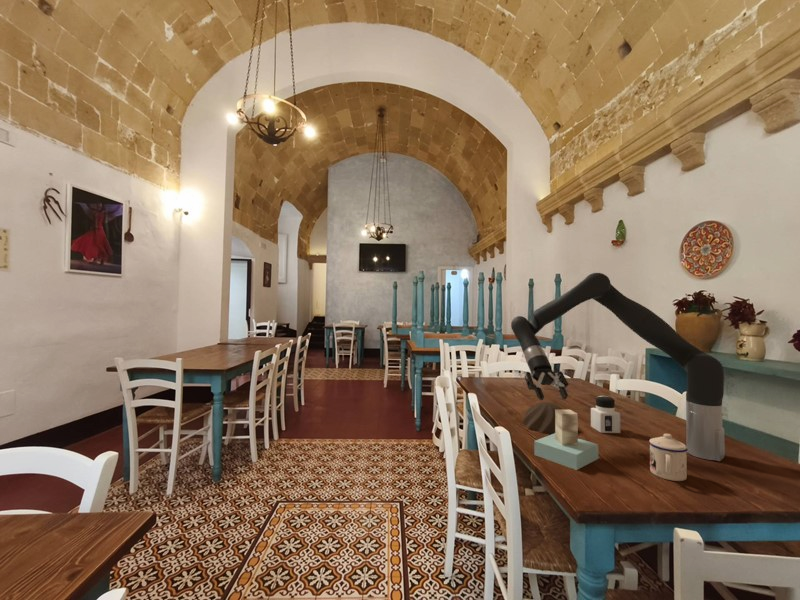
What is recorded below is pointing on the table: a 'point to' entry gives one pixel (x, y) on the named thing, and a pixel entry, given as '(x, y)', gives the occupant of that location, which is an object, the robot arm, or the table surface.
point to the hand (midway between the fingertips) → (554, 398)
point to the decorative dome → (541, 417)
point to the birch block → (566, 427)
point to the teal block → (566, 452)
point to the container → (605, 416)
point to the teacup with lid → (668, 458)
